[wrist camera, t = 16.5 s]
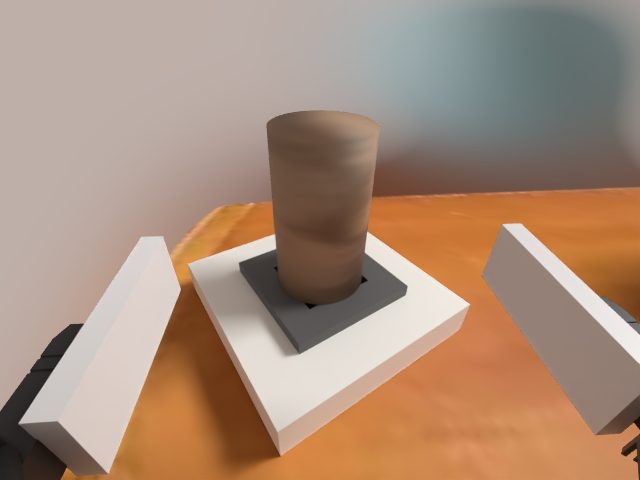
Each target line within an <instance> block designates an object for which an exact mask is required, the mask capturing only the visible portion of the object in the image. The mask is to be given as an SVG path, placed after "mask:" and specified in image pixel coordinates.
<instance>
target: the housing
mask: <svg viewBox="0 0 640 480" xmlns="http://www.w3.org/2000/svg"><path fill="white" fill-rule="evenodd" d="M188 267H189V270H190V274H191V277H192V281H193V284H194V288H195V290H196V292H197V294H198V296H199V298H200V300H201V302H202V304H203V306H204V308H205V310H206V312H207V314H208V315H209V317H210V319H211V321H212V323H213V325H214V327H215V329H216V331H217V333H218V335H219V337H220V339H221V341H222V343H223V345H224V347H225V349H226V351H227V353H228V355H229V356H230V358H231V360H232V362H233V364H234V366H235V368H236V370H237V372H238V374H239V376H240V378H241V380H242V382H243V384H244V386H245V388H246V390H247V392H248V394H249V396H250V397H251V399H252V401H253V403H254V405H255V407H256V409H257V411H258V413H259V415H260V417H261V419H262V421H263V423H264V425H265V427H266V429H267V431H268V433H269V435H270V437H271V438H272V440H273V442H274V444H275V446H276V448H277V450H278V452H279V454H280V456H282V455H283V454H285V453H286V452H287V451H289V450H290V449H292V448H293V447H295V446H296V445H297V444H299V443H300V442H302V441H303V440H304V439H306V438H307V437H309V436H310V435H311V434H313V433H314V432H316V431H317V430H319V429H320V428H321V427H323V426H324V425H326V424H327V423H328V422H330V421H331V420H333V419H334V418H336V417H337V416H338V415H340V414H341V413H343V412H344V411H345V410H347V409H348V408H350V407H351V406H353V405H354V404H355V403H357V402H358V401H360V400H361V399H362V398H364V397H365V396H367V395H368V394H369V393H371V392H372V391H374V390H375V389H377V388H378V387H379V386H381V385H382V384H384V383H385V382H386V381H388V380H389V379H391V378H392V377H394V376H395V375H396V374H398V373H399V372H401V371H402V370H403V369H405V368H406V367H408V366H409V365H411V364H412V363H413V362H415V361H416V360H418V359H419V358H420V357H422V356H423V355H425V354H426V353H427V352H429V351H430V350H432V349H433V348H435V347H436V346H437V345H439V344H440V343H442V342H443V341H444V340H446V339H447V338H449V337H450V336H452V335H453V334H454V333H456V332H457V331H459V330H460V328H461V326H462V323H463V321H464V318H465V316H466V313H467V311H468V308H469V306H470V304H469V303H467V302H466V301H464V300H463V299H462V298H460V297H459V296H457V295H456V294H455V293H453V292H452V291H450V290H449V289H447V288H446V287H445V286H443V285H442V284H440V283H439V282H438V281H436V280H435V279H433V278H432V277H431V276H429V275H428V274H426V273H425V272H423V271H422V270H421V269H419V268H418V267H416V266H415V265H414V264H412V263H411V262H409V261H408V260H407V259H405V258H404V257H402V256H401V255H399V254H398V253H397V252H395V251H394V250H392V249H391V248H390V247H388V246H387V245H385V244H384V243H383V242H381V241H380V240H378V239H377V238H375V237H374V236H373V235H371V234H370V233H368V232H367V238H366V246H365V255H364V263H363V271H362V279H361V284H360V286H359V288H358V289H357V291H356V292H355V293H354V294H353V295H351V296H350V297H348V298H347V299H345V300H343V301H340V302H337V303H333V304H326V305H318V306H316V307H314V308H312V309H309V308H308V307H307V306H306V305H305V303H304V302H301V301H299V300H296V299H294V298H293V297H291V296H290V295H288V294H287V293H286V292H285V291H284V290H283V289H282V287H281V285H280V283H279V279H278V266H277V253H276V241H275V234H274V235H271V236H268V237H265V238H262V239H260V240H257V241H254V242H251V243H248V244H245V245H242V246H239V247H236V248H233V249H230V250H227V251H224V252H221V253H218V254H215V255H213V256H210V257H207V258H204V259H201V260H198V261H195V262H192V263H189V264H188Z"/></svg>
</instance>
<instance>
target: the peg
mask: <svg viewBox="0 0 640 480" xmlns="http://www.w3.org/2000/svg"><path fill="white" fill-rule="evenodd" d="M379 130H380V126H379V125H378V123H377V122H375V121H374V120H372V119H370V118H367V117H364V116H361V115H357V114H353V113H347V112H339V111H338V112H337V111H300V112H293V113H288V114H283V115H280V116H277V117H275V118H273V119H271V120H270V121H269V122H268V123H267V138H268V150H269V163H270V175H271V187H272V188H271V189H272V202H273V215H274V228H275V241H276V253H277V266H278V279H279V283H280V285H281V287H282V289H283V290H284V291H285V292H286V293H287V294H288V295H290V296H291V297H293V298H294V299H296V300H299V301H301V302H304V303H305V305H306V306H307V307H308V308H309V309H312V308H314V307H316V306H318V305H326V304H333V303H337V302H340V301H343V300H345V299H347V298H348V297H350V296H351V295H353V294H354V293H355V292H356V291H357V289H358V288H359V286H360V284H361V279H362V271H363V263H364V255H365V246H366V238H367V230H368V221H369V213H370V205H371V197H372V188H373V180H374V172H375V163H376V155H377V147H378V139H379Z"/></svg>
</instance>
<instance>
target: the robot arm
mask: <svg viewBox="0 0 640 480" xmlns="http://www.w3.org/2000/svg"><path fill="white" fill-rule="evenodd" d="M482 277H483V279H484V280H485V282H486V283H487V284H488V286H489V287H490V289H491V290H492V291H493V293H494V294H495V296H496V297H497V298H498V300H499V301H500V303H501V304H502V306H503V307H504V308H505V310H506V311H507V313H508V314H509V315H510V317H511V318H512V320H513V321H514V322H515V324H516V325H517V327H518V328H519V329H520V331H521V332H522V334H523V335H524V336H525V338H526V339H527V341H528V342H529V343H530V345H531V346H532V348H533V349H534V350H535V352H536V353H537V355H538V356H539V357H540V359H541V360H542V362H543V363H544V364H545V366H546V367H547V369H548V370H549V371H550V373H551V374H552V376H553V377H554V378H555V380H556V381H557V383H558V384H559V385H560V387H561V388H562V390H563V391H564V392H565V394H566V395H567V397H568V398H569V399H570V401H571V402H572V404H573V405H574V407H575V408H576V409H577V411H578V412H579V414H580V415H581V416H582V418H583V419H584V421H585V422H586V423H587V425H588V426H589V428H590V429H591V430H592V432H593V433H594V435H606V434H619V433H622V432H623V431H624V430H625V429H626V428H628V427H629V426H630V425H631V424H632V423H635V424H636V426H637V427H638V428H639V429H640V324H638V323H637V321H636V320H635V319H634V318H633V317H632V316H631V315H630V314H629V313H628V312H626V311H625V310H624V309H623V308H622V307H620V306H619V305H617V304H615V303H614V302H612V301H610V300H609V299H607V298H605V297H604V296H598V295H597V294H596V293H595V292H593V291H592V290H591V289H590V288H589V287H588V286H587V285H586V284H585V283H584V282H583V281H582V280H581V279H580V278H578V277H577V276H576V275H575V274H574V273H573V272H572V271H571V270H570V269H569V268H568V267H567V266H566V265H565V264H563V263H562V262H561V261H560V260H559V259H558V258H557V257H556V256H555V255H554V254H553V253H552V252H551V251H550V250H548V249H547V248H546V247H545V246H544V245H543V244H542V243H541V242H540V241H539V240H538V239H537V238H536V237H535V236H533V235H532V234H531V233H530V232H529V231H528V230H527V229H526V228H525V227H524V226H523V225H522V224H502V226H501V229H500V231H499V234H498V236H497V239H496V241H495V244H494V246H493V249H492V251H491V254H490V256H489V259H488V261H487V264H486V266H485V269H484V271H483V274H482ZM180 291H181V289H180V286H179V283H178V280H177V277H176V274H175V271H174V268H173V265H172V262H171V259H170V256H169V253H168V251H167V248H166V244H165V242H164V239H163V236H158V237H141V239H140V240H139V242H138V243H137V245H136V246H135V248H134V249H133V251H132V252H131V254H130V255H129V257H128V258H127V260H126V261H125V263H124V264H123V266H122V267H121V269H120V271H119V272H118V274H117V275H116V276H115V278H114V279H113V281H112V283H111V284H110V286H109V287H108V289H107V290H106V292H105V293H104V295H103V296H102V298H101V299H100V301H99V302H98V304H97V305H96V307H95V309H94V310H93V311H92V313H91V314H90V316H89V318H88V319H87V321H86V322H85V323H84V324H70V325H69V326H68V327H67V328H65V329H64V330H63V331H62V332H61V333H59V334H58V335H57V336H56V337H55V338H53V339H52V341H51V342H50V344H49V345H48V346H47V348H46V349H45V351H44V352H43V353H42V355H41V358H40V359H38V360H37V361H36V363H35V364H34V366H33V367H32V368H31V370H30V371H31V372H30V373H29V374H27V375H26V377H25V378H24V379H23V381H22V382H21V384H20V385H19V386H18V388H17V389H16V390H15V392H14V393H13V395H12V396H11V397H10V399H9V400H8V401H7V403H6V404H5V406H4V407H3V408H2V410H1V411H0V480H61V478H62V476H63V474H64V472H65V470H66V468H68V469H69V470H71V471H72V472H73V473H74V474H75V475H76V476H87V475H99V474H108V473H109V471H110V468H111V466H112V463H113V461H114V458H115V456H116V453H117V451H118V448H119V446H120V443H121V440H122V438H123V435H124V433H125V430H126V428H127V425H128V423H129V420H130V418H131V415H132V413H133V410H134V408H135V405H136V402H137V400H138V397H139V395H140V392H141V390H142V387H143V385H144V382H145V380H146V377H147V375H148V372H149V369H150V367H151V364H152V362H153V359H154V357H155V354H156V352H157V349H158V347H159V344H160V342H161V339H162V337H163V334H164V331H165V329H166V326H167V324H168V321H169V319H170V316H171V314H172V311H173V309H174V306H175V304H176V301H177V298H178V296H179V293H180ZM635 449H637V456H636V457H635V458H634V459H633V461H635V462H637V463H638V474H639V480H640V434H639V435H638V436H637V437H635V438H634V439H633V440H632V441H630V442H629V443H628V444H627V445H625V446H624V447H623V448H622V452H621V454H622V455H624V456H627V455H629V454H630V453H631V452H633V451H634V450H635Z"/></svg>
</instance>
